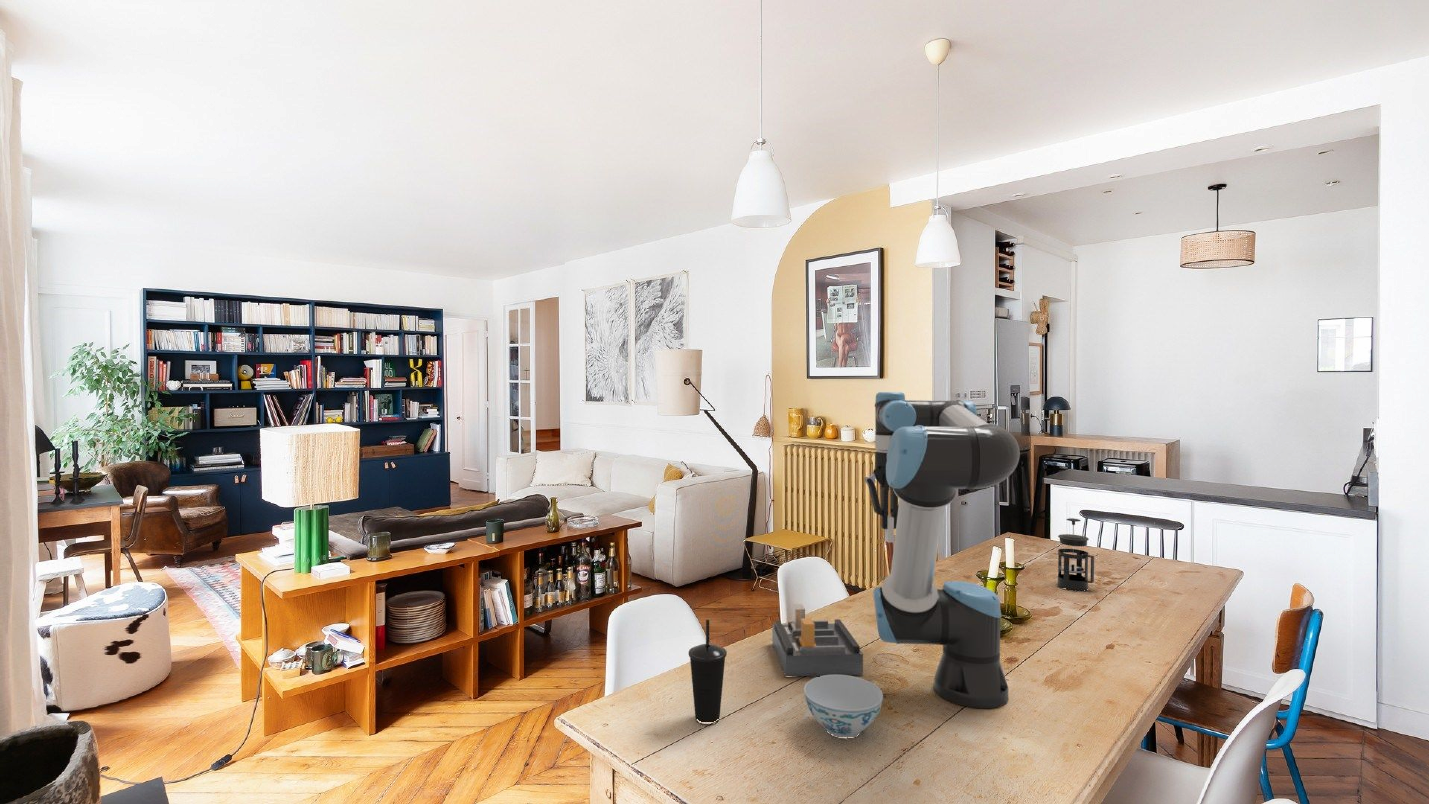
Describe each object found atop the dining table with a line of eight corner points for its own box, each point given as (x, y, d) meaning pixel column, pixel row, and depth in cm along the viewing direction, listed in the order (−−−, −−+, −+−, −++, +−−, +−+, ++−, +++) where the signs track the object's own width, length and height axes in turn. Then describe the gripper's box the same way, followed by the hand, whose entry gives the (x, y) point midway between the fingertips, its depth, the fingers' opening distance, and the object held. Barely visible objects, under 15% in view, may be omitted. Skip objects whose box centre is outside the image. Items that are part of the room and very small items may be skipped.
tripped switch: (816, 649, 155) (816, 624, 155) (803, 649, 155) (803, 625, 155) (812, 641, 160) (812, 617, 160) (799, 641, 160) (799, 617, 160)
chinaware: (788, 730, 129) (788, 690, 129) (833, 704, 140) (833, 668, 139) (853, 761, 118) (854, 718, 118) (897, 730, 129) (897, 691, 129)
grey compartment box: (862, 675, 154) (863, 627, 153) (785, 677, 152) (785, 629, 152) (840, 642, 174) (840, 600, 173) (772, 643, 172) (772, 601, 172)
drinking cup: (693, 731, 128) (693, 628, 128) (684, 712, 136) (684, 615, 135) (731, 726, 130) (731, 625, 130) (720, 707, 138) (720, 612, 137)
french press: (1049, 585, 223) (1050, 517, 223) (1063, 581, 229) (1064, 514, 228) (1085, 594, 214) (1086, 523, 213) (1099, 589, 219) (1100, 520, 219)
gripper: (908, 449, 177) (908, 537, 178) (861, 449, 176) (860, 538, 177) (919, 452, 170) (918, 544, 170) (869, 452, 169) (869, 545, 169)
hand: (889, 541), depth 174 cm, fingers closed
